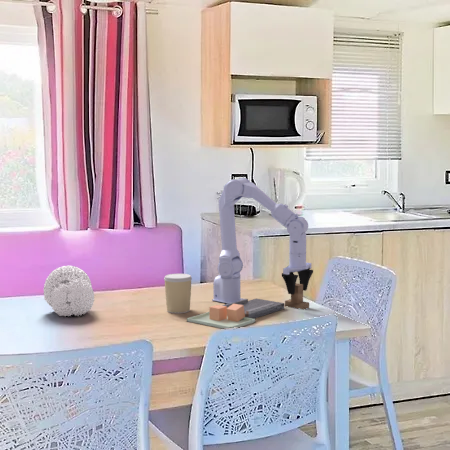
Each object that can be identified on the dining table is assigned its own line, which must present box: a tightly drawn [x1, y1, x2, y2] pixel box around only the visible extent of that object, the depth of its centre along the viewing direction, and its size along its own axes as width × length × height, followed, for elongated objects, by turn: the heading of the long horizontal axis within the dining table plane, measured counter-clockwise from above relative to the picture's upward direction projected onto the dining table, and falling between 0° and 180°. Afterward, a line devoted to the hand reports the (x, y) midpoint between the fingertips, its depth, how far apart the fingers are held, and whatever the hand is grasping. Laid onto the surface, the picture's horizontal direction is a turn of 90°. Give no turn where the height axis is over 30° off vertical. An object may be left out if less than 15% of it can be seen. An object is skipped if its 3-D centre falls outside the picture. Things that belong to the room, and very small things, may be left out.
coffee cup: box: [163, 273, 193, 314], centre depth 254 cm, size 9×9×12 cm
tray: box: [186, 311, 256, 330], centre depth 239 cm, size 18×13×1 cm
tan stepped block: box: [284, 282, 310, 310], centre depth 258 cm, size 8×3×8 cm, turn 51°
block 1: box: [208, 304, 227, 321], centre depth 242 cm, size 4×4×4 cm
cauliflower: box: [42, 265, 95, 317], centre depth 251 cm, size 20×18×16 cm
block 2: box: [226, 304, 245, 322], centre depth 240 cm, size 4×4×4 cm
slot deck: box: [221, 298, 285, 320], centre depth 252 cm, size 12×20×3 cm, turn 141°
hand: (297, 292), depth 258 cm, fingers open, 7 cm apart
